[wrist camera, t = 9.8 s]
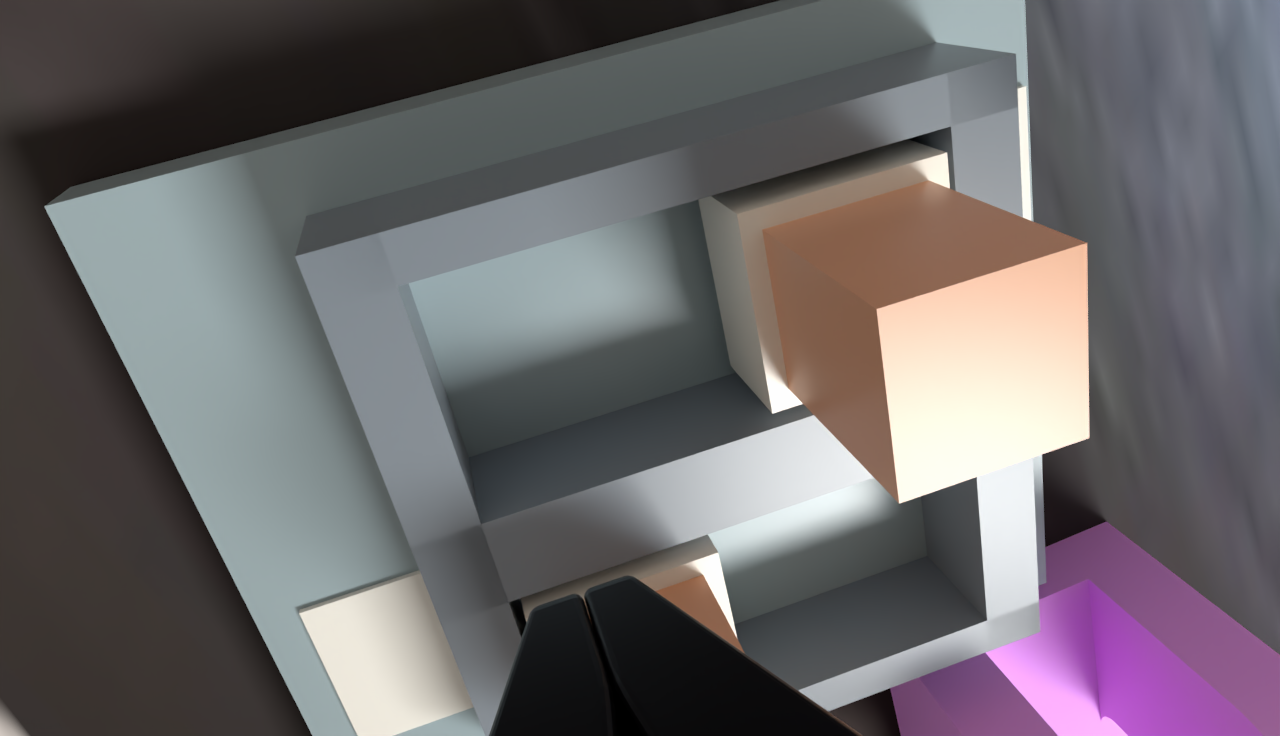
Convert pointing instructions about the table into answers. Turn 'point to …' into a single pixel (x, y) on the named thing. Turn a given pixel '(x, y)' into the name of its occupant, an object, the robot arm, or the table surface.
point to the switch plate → (554, 360)
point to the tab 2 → (904, 315)
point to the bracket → (1106, 660)
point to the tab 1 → (667, 584)
